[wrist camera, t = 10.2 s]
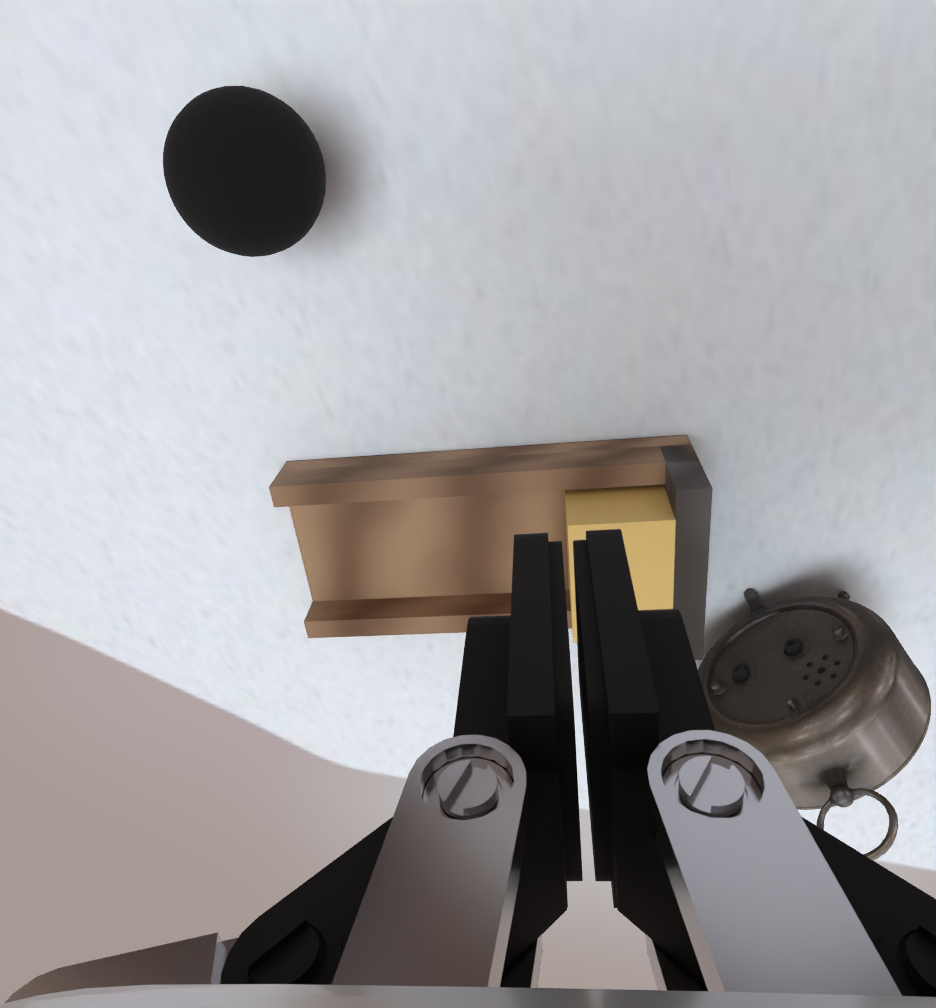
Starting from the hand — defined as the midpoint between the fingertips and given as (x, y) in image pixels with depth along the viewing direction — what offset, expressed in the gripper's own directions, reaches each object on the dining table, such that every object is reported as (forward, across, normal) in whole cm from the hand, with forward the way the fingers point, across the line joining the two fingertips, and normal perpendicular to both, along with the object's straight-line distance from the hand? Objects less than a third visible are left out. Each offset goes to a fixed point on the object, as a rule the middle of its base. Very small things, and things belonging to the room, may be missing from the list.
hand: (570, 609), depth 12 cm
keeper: (+26, -3, +14) cm, 30 cm away
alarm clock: (+27, -12, +21) cm, 36 cm away
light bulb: (+27, +11, -6) cm, 30 cm away
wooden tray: (+27, +4, +14) cm, 31 cm away
